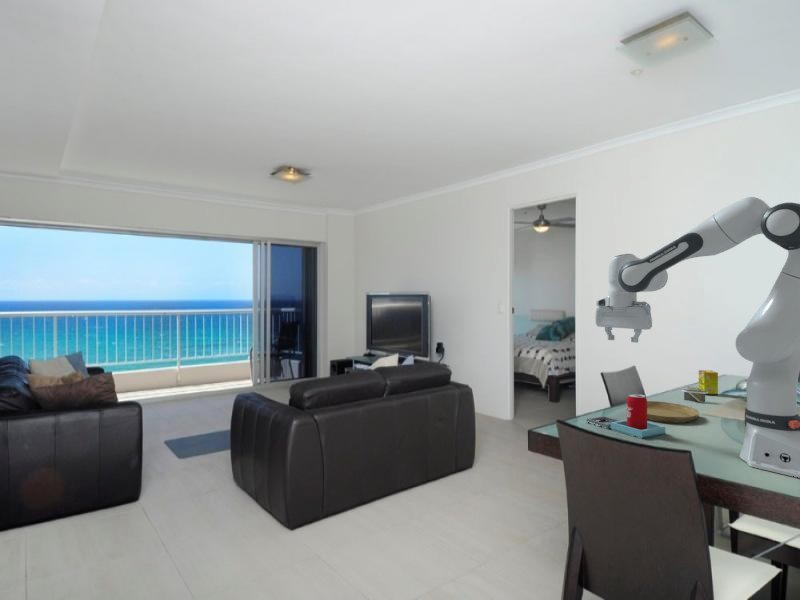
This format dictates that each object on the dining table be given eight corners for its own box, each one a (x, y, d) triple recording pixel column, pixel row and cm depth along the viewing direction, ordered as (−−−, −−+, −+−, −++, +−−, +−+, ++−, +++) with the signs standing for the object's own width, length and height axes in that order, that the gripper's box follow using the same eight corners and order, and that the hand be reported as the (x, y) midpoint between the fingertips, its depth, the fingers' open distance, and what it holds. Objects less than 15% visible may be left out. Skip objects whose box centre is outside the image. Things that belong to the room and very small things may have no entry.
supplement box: (698, 392, 225) (698, 369, 225) (711, 393, 224) (711, 370, 224) (704, 395, 219) (704, 371, 219) (718, 395, 218) (718, 372, 218)
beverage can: (636, 426, 165) (636, 392, 165) (651, 431, 160) (651, 396, 160) (622, 428, 163) (622, 394, 163) (637, 433, 157) (637, 397, 157)
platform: (720, 407, 197) (720, 391, 197) (670, 402, 207) (670, 387, 206) (718, 401, 207) (718, 387, 207) (671, 397, 217) (671, 383, 217)
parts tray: (665, 433, 159) (665, 426, 159) (641, 438, 153) (641, 431, 153) (633, 425, 169) (633, 418, 169) (610, 429, 164) (610, 422, 164)
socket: (624, 425, 169) (624, 421, 169) (607, 429, 165) (607, 424, 165) (603, 419, 177) (603, 415, 177) (586, 422, 173) (586, 418, 173)
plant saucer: (695, 428, 166) (695, 419, 166) (621, 418, 180) (621, 409, 180) (702, 414, 185) (702, 406, 185) (634, 406, 199) (634, 398, 199)
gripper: (656, 301, 155) (656, 343, 155) (604, 301, 173) (604, 338, 173) (643, 301, 152) (643, 344, 152) (592, 301, 170) (592, 339, 170)
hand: (622, 341), depth 163 cm, fingers open, 8 cm apart
